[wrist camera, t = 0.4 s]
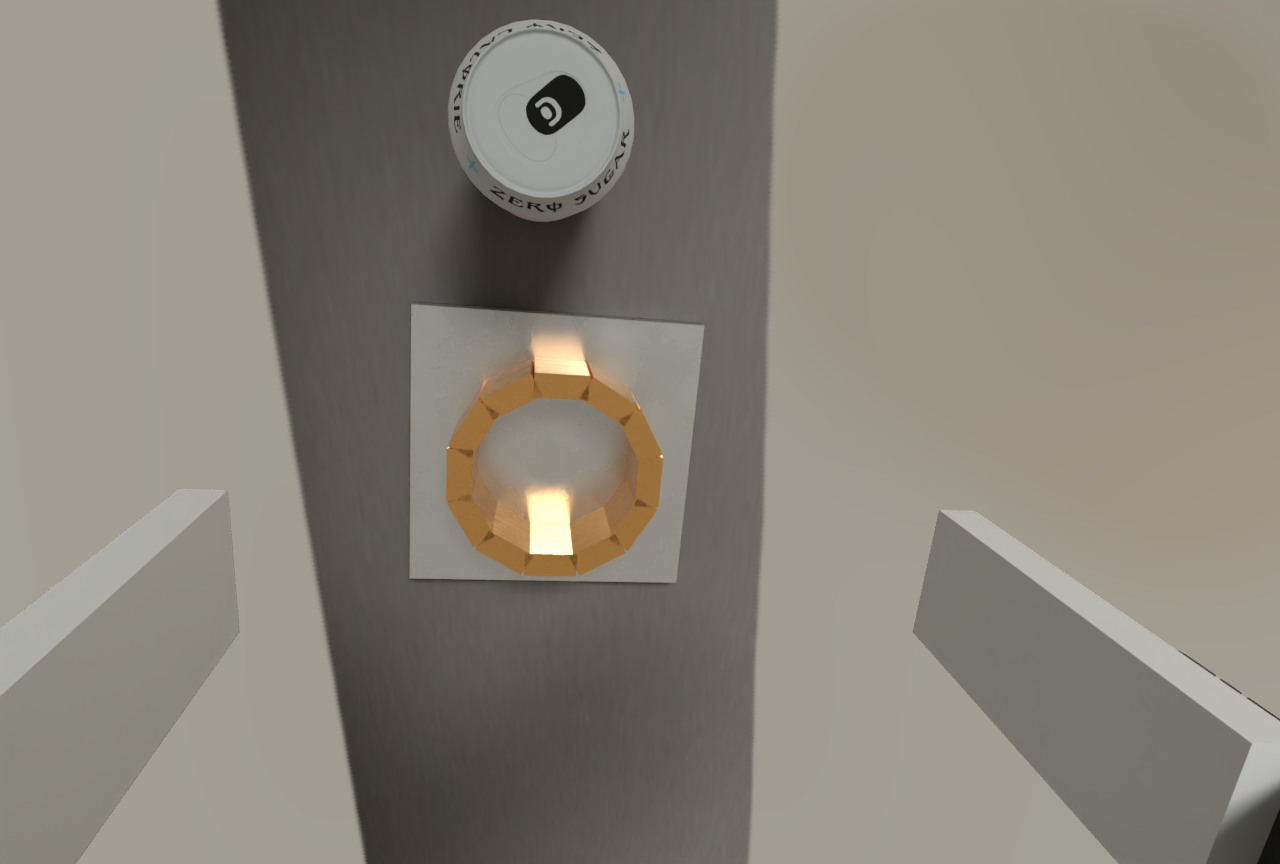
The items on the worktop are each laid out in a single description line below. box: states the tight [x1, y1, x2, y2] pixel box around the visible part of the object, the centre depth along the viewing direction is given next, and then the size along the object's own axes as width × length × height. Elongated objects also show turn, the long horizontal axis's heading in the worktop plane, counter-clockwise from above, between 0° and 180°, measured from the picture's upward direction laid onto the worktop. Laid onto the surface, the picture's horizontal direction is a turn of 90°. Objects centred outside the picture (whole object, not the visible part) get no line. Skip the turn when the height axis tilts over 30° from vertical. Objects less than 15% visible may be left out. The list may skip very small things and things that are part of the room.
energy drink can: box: [448, 19, 634, 222], centre depth 29 cm, size 6×6×15 cm
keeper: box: [410, 302, 704, 583], centre depth 38 cm, size 15×15×5 cm
